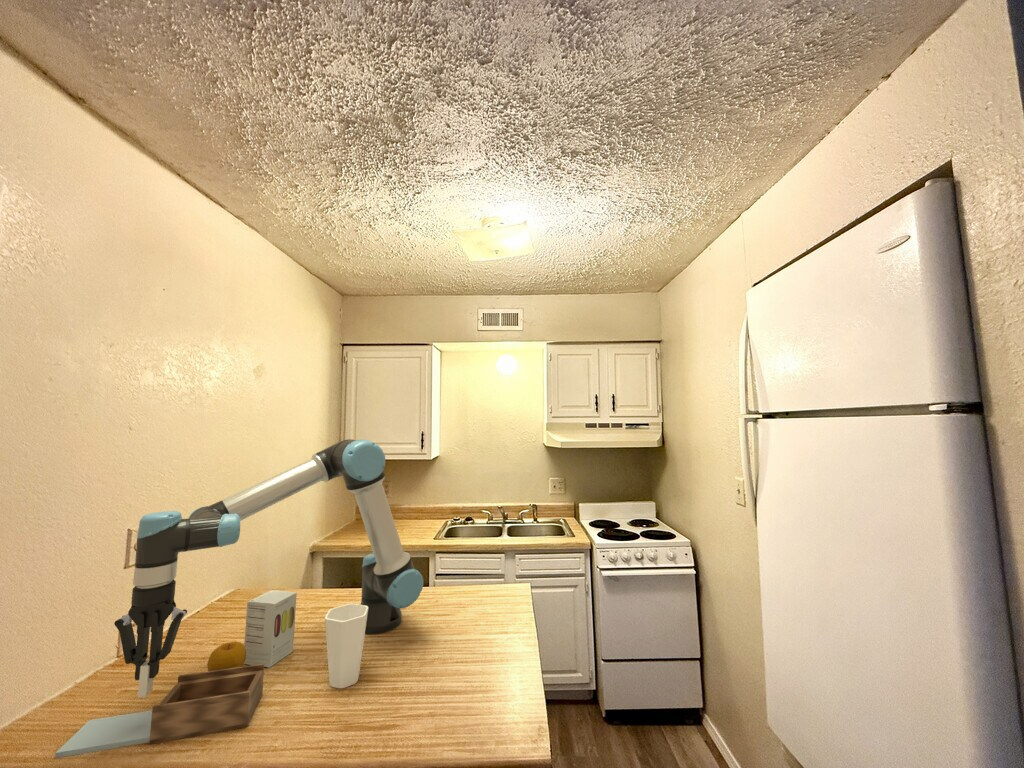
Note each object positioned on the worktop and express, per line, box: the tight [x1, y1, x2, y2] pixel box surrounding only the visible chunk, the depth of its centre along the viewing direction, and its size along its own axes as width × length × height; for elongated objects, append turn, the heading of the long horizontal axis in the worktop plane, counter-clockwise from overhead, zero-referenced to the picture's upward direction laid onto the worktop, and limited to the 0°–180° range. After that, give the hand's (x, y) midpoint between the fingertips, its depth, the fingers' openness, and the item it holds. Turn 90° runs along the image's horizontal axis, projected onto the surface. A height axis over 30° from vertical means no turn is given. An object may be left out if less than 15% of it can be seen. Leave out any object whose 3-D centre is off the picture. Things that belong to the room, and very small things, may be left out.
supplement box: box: [243, 589, 298, 668], centre depth 122 cm, size 10×9×17 cm
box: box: [148, 664, 265, 745], centre depth 96 cm, size 18×12×7 cm, turn 107°
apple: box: [206, 641, 246, 671], centre depth 111 cm, size 8×8×9 cm
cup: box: [324, 603, 368, 689], centre depth 111 cm, size 11×10×17 cm
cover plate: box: [54, 709, 152, 759], centre depth 91 cm, size 16×10×2 cm, turn 106°
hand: (145, 693), depth 93 cm, fingers closed
